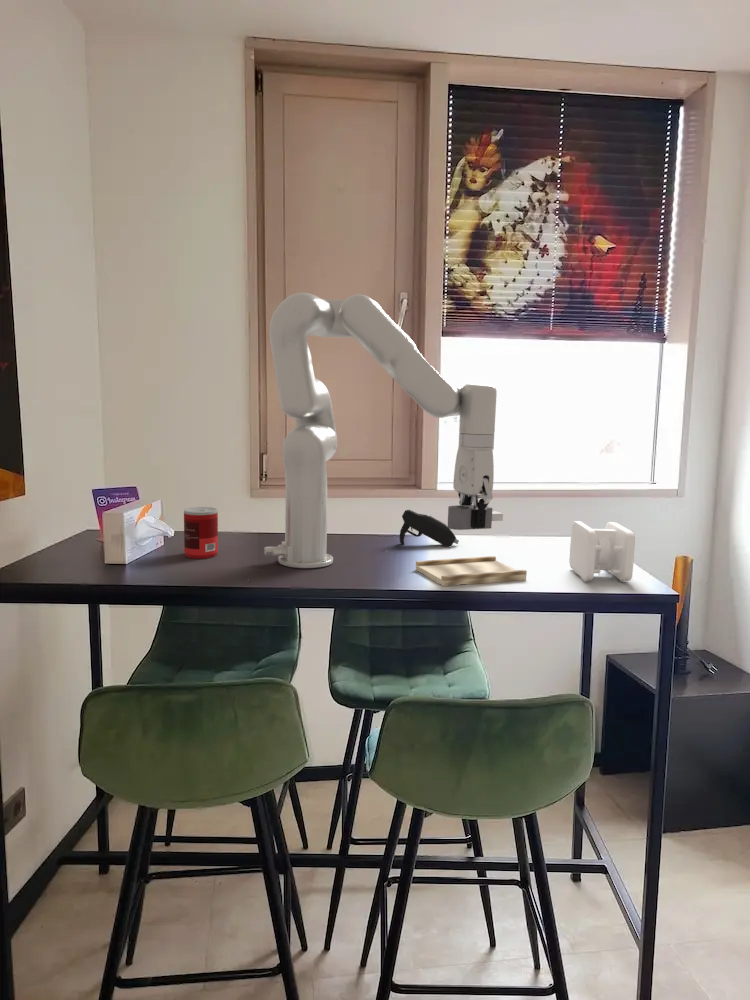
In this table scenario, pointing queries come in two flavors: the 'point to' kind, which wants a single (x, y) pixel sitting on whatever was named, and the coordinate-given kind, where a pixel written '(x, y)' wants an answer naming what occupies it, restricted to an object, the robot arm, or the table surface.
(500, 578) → the board
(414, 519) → the gun
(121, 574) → the table surface
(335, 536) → the table surface
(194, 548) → the canned food
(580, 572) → the cable organizer
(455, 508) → the connector
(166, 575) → the table surface
